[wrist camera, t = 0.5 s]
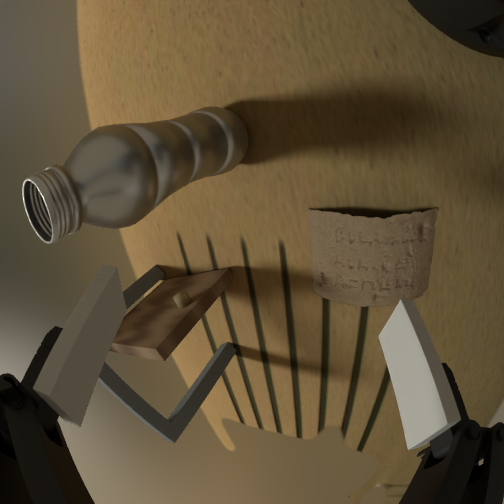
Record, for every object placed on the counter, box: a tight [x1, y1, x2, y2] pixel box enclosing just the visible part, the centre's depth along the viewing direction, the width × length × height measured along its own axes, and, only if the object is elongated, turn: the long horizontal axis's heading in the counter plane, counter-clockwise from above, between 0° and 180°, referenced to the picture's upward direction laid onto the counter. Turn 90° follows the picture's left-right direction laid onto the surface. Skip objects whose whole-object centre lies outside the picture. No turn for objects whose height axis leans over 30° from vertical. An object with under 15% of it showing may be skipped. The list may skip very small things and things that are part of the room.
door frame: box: [98, 265, 237, 443], centre depth 35 cm, size 2×18×18 cm, turn 46°
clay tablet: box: [306, 208, 438, 307], centre depth 26 cm, size 14×10×3 cm
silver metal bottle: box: [22, 106, 249, 244], centre depth 19 cm, size 6×7×20 cm
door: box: [109, 268, 234, 361], centre depth 32 cm, size 13×3×14 cm, turn 116°
